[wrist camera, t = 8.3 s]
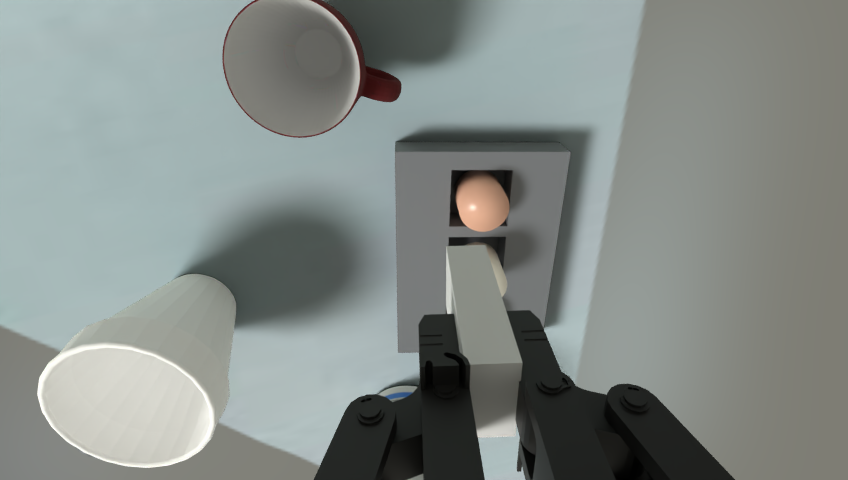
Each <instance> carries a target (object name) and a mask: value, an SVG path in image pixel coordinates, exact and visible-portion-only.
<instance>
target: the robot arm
mask: <svg viewBox="0 0 848 480" xmlns="http://www.w3.org/2000/svg"><path fill="white" fill-rule="evenodd" d="M446 308H447V314H430V315H424V316H423V318H422V319H421V321H420V323H419V324H418V329H419V363H420V383H419V385H418V387H417V389H416V390H415V391H414V392H413V393H412V394H410V395H409V396H407V397H405V398H403V399H400V400H397V401H394V402H392V401H390V400H389V399H388V398H387V397H384V396H381V395H378V394H374V395H365V396H362V397H359V398H357V399H356V400H354V401H353V402H351V403H350V405H349V406H348V407H347V409H346V410H345V412H344V415H343V417H342V419H341V421H340V423H339V426H338V428H337V430H336V432H335V434H334V437H333V439H332V441H331V443H330V445H329V447H328V450H327V452H326V454H325V456H324V458H323V461H322V463H321V465H320V467H319V470H318V472H317V474H316V476H315V478H314V480H408V479H410V478H413V477H416V476H418V475H421V474H423V480H485V479H484V473H483V467H482V461H481V455H480V449H479V442H478V438H484V437H510V436H515V434H516V424H517V428H518V432H519V435H520V441H519V451H518V460H517V471H521V468H522V467H523V471H524V475H525V479H526V480H735V479H734V478H733V477H732V476H731V475H730V474H729V473H728V472H727V471H726V470H725V469H724V468H723V467H722V466H721V465H720V464H719V462H718V461H717V460H716V459H715V458H714V457H712V455H711V454H710V453H709V452H708V451H707V450H706V449H705V448H704V447H703V446H702V445H701V444H700V443H699V441H697V439H696V438H695V437H694V436H693V435H692V434H691V433H690V432H689V431H688V430H687V429H686V428H685V427H684V426H683V425H682V424H681V423H680V422H679V420H677V418H676V417H675V416H674V415H673V414H672V413H671V412H670V411H669V410H668V409H667V408H666V407H665V406H664V405H663V404H662V403H661V402H660V401H659V400H658V398H657V397H655V396H654V395H653V394H652V393H650V392H649V391H648V390H646V389H643V388H641V387H639V386H636V385H631V384H619V385H616V386H614V387H612V388H611V389H610V390H609V392H608V393H607V395H605V394H600V393H596V392H591V391H587V390H584V389H581V388H579V387H577V386H575V384H574V382H573V381H572V380H571V378H570V377H568V376H567V375H566V374H564V373H563V372H561V370H560V368H559V365H558V363H557V360H556V358H555V355H554V353H553V351H552V348H551V346H550V343H549V341H548V338H547V336H546V334H545V332H544V329H543V326H542V324H541V321H540V319H539V318H538V317H537V316H535V315H534V314H533V313H532V312H531V311H530V310H519V311H506V309H505V306H504V302H503V299H502V296H501V293H500V290H499V287H498V283H497V280H496V277H495V274H494V271H493V268H492V264H491V261H490V258H489V255H488V252H487V249H486V245H470V246H446Z"/></svg>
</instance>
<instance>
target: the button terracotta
mask: <svg viewBox="0 0 848 480" xmlns="http://www.w3.org/2000/svg"><path fill="white" fill-rule="evenodd" d="M454 195H455V199H456V203H457V207H458V211H459V214H460V217H461V220H462V221H463V223H464V224H465V225H466V226H467V227H468V228H470V229H472V230H475V231H479V232H486V231H490V230H493V229H495V228H497V227H499V226H500V225H501V224H502V223H503V222H504V221H505V219H506V218H507V216H508V213H509V200H508V198H507V196H506V194H505V192H504V190H503V188H502V187H501V185H500V183H499V181H498V179H497V178H496V176H495V175H494V174H492V173H491V172H489V171H487V170H470V171H468V172H466V173H464V174H463V175H462V176H461V177H460V178H459V179H458V181H457V183H456V185H455V189H454Z"/></svg>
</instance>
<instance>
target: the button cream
mask: <svg viewBox="0 0 848 480" xmlns="http://www.w3.org/2000/svg"><path fill="white" fill-rule="evenodd" d="M470 245H486V249H487V252H488V255H489V258H490V261H491V264H492V268H493V271H494V274H495V277H496V280H497V283H498V287H499V290H500V293H501V296H502V297H503V296H504V294H505V292H506V289H507V279H506V276H505V274H504V271H503V268H502V266H501V263H500V261H499V258H498V255H497V253H496V251H495V250H494V249H493V248H492V247H491V246H490V245H488V244H485V243H481V242H473V243H469V244H467V245H465V246H470Z"/></svg>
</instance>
